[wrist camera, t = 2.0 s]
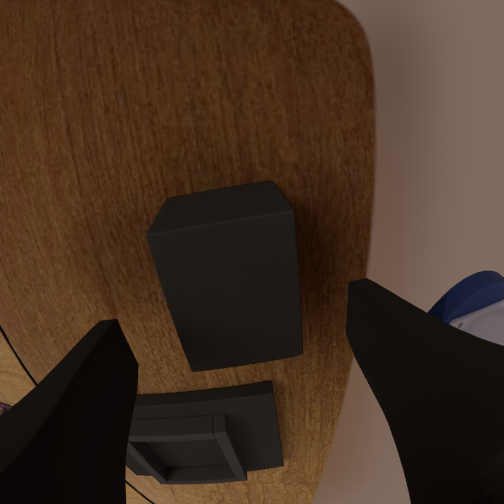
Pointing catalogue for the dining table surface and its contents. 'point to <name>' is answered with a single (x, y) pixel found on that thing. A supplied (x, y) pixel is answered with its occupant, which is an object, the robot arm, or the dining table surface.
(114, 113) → the dining table surface
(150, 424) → the base pad
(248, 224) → the small block
